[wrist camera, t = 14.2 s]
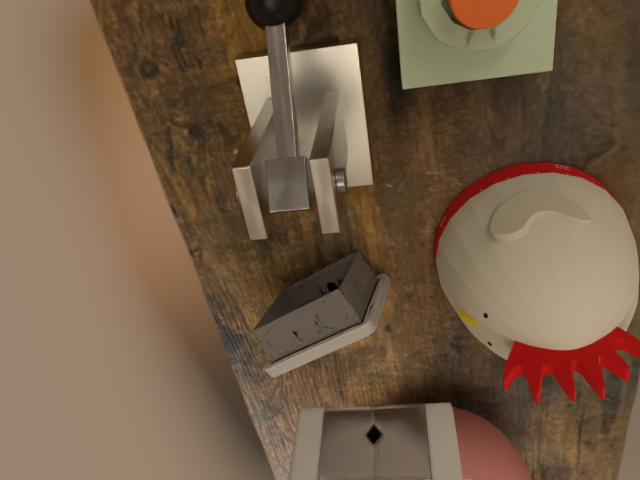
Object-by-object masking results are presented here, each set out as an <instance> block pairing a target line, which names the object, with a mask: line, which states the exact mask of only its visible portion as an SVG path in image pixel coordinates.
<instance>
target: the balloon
mask: <svg viewBox="0 0 640 480" xmlns="http://www.w3.org/2000/svg"><path fill="white" fill-rule="evenodd" d="M452 408H453V414H454V421H455V428H456V434H457V441H458V447H459V454H460V461H461V467H462V474H463V479H472V480H532V479H531V476H530V473H529V471H528V469H527V466H526V464H525V462H524V460H523V459H522V457H521V455H520V454H519V452H518V451H517V449H516V448H515V446H514V445H513V444H512V443H511V441H510V440H509V439H508V438H507V437H506V436H505V435H504V434H503V433H502V432H501V431H500V430H499V429H498V428H496V427H495V426H494V425H492V424H491V423H490V422H488V421H487V420H485V419H483V418H482V417H480V416H478V415H476V414H474V413H471V412H469V411H466V410H463V409H459V408H455V407H452ZM424 409H425V408H424Z"/></svg>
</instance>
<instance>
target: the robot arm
mask: <svg viewBox="0 0 640 480" xmlns="http://www.w3.org/2000/svg"><path fill="white" fill-rule="evenodd" d="M424 408H425V409H424ZM289 480H472V479H463V474H462V467H461V461H460V454H459V447H458V441H457V434H456V428H455V421H454V414H453V408H452V405H451V403H426V404H425V405H424V403H416V404H396V405H376V406H374V407H313V408H301V409H300V411H299V414H298V418H297V425H296V432H295V439H294V446H293V452H292V459H291V466H290V473H289Z"/></svg>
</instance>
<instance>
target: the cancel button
mask: <svg viewBox="0 0 640 480" xmlns="http://www.w3.org/2000/svg"><path fill="white" fill-rule="evenodd" d="M518 1H519V0H447V2H448V5H449V7H450V9H451V11H452V12H453V14H454V16H455V17H456V18H457V20H458V21H459V22H461V23H462V24H463V25H465V26H467V27H469V28H472V29H488V28H491V27H494V26H496V25H498V24H500V23H502V22H503V21H504V20H505V19H507V18H508V17H509V16H510V15H511V13H512V12H513V11H514V9H515V7H516V6H517V4H518Z"/></svg>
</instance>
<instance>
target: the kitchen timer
mask: <svg viewBox="0 0 640 480" xmlns="http://www.w3.org/2000/svg"><path fill="white" fill-rule="evenodd" d="M434 254H435V261H436V266H437V271H438V276H439V281H440V284H441V287H442V289H443V291H444V293H445V295H446V297H447V298H448V300H449V301H450V303H451V305H452V306H453V308H454V310H455V311H456V313H457V314H458V316H459V317H460V319H461V320H462V321H463V323H464V324H465V325H466V327H467V328H468V329H469V330H470V332H471V333H472V334H473V335H474V336H475V337H476V338H477V339H478V340H479V341H481V342H482V343H483V344H484V345H486V346H487V347H488V348H489V349H490V350H492V351H493V352H494V353H496V354H497V355H499V356H500V357H502V358H504V359H506V360H507V361H506V364H505V367H504V372H503V383H504V390H505V391H506V390H507V389H508V387H509V386H510V385H511V383H512V382H513V380H514V379H515V378H516V377H517V376H525V378H526V380H527V382H528V385H529V388H530V391H531V394H532V396H533V399H534V401H535V402H536V404H539V402H540V398H541V389H542V380H543V377H544V376H545V375H546V374H551V375H553V376H554V377H555V378H556V380H557V381H558V383H559V384H560V386H561V387H562V389H563V390H564V392H565V393H566V394H567V396H568V397H569V398H570V399H571V401H572V402H574V403H575V401H576V400H575V385H574V379H573V374H572V372H573V371H578V372H579V373H580V374H581V375H582V376H583V377H584V378H585V380H586V381H587V382H588V384H589V385H590V386H591V388H592V389H593V390H594V391H595V393H596V394H597V395H598V396H599V397H600V398H601V399H602V400H604V399H605V383H604V379H603V375H602V371H601V367H604V368H606V369H608V370H609V371H611V372H613V373H614V374H616V375H617V376H618V377H620V378H622V379H623V380H626V381H629V366H628V364H627V363H626V362H625V361H624V360H623V359H622V358H621V357H620V356H619V355H618V354H617V353H616V352H615V350H617V349H620V350H624V351H626V352H628V353H630V354H632V355H634V356H636V357H637V358H639V359H640V341H639V340H638V339H636V338H635V337H634V336H632V335H631V334H629V333H628V332H626V331H627V328H628V326H629V324H630V321H631V319H632V317H633V315H634V312H635V309H636V306H637V302H638V290H639V264H638V255H637V248H636V243H635V239H634V236H633V234H632V231H631V228H630V226H629V223H628V220H627V218H626V215H625V213H624V211H623V209H622V207H621V206H620V204H619V203H618V202H617V200H616V199H615V198H614V197H613V195H612V194H611V193H610V192H609V191H608V190H607V189H606V188H605V187H604V186H603V185H602V184H601V182H600V181H599V180H598V179H596V178H594V177H593V176H591V175H589V174H587V173H585V172H583V171H581V170H579V169H577V168H575V167H571V166H566V165H560V164H555V163H550V162H541V163H528V164H517V165H514V166H511V167H508V168H505V169H502V170H499V171H496V172H493V173H490V174H488V175H487V176H485V177H483V178H482V179H480V180H478V181H477V182H475V183H474V184H472V185H470V186H469V187H467V188H466V189H465V190H464V191H463V192H462V193H461V194H460V195H459V196H458V197H457V198H456V199H455V200H454V201H453V202H452V203H451V204H450V205H449V206H448V208H447V210H446V212H445V214H444V216H443V218H442V219H441V221H440V223H439V225H438V227H437V232H436V238H435V244H434Z"/></svg>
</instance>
